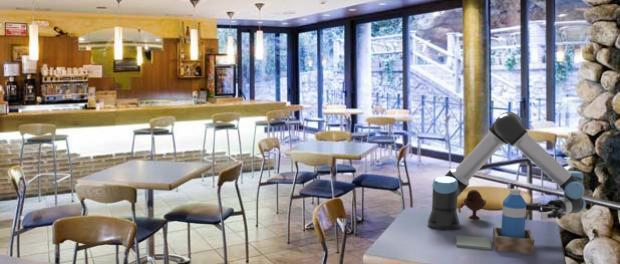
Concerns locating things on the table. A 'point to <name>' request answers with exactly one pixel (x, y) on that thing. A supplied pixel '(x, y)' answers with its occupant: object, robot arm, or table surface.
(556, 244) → the table surface
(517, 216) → the water bottle
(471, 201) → the ice cream bowl
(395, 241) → the table surface
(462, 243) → the mat
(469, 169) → the robot arm
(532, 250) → the wooden frame
